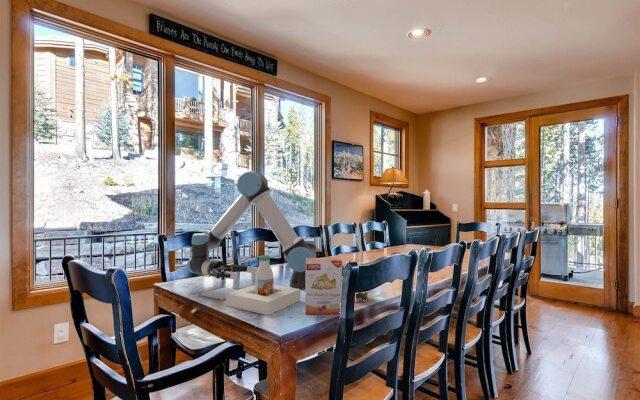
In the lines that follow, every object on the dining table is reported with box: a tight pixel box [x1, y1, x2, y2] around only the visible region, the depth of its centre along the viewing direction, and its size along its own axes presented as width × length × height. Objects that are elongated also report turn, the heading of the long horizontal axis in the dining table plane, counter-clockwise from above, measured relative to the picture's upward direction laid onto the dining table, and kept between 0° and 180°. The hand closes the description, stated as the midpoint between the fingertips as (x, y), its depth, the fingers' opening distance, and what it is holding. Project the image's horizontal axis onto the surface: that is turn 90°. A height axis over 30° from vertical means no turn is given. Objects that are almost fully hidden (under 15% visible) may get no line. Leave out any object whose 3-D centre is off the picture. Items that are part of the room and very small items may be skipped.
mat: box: [200, 287, 237, 301], centre depth 159 cm, size 14×14×1 cm
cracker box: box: [304, 257, 343, 315], centre depth 134 cm, size 14×6×21 cm, turn 95°
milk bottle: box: [254, 254, 274, 296], centre depth 145 cm, size 8×8×20 cm
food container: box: [356, 291, 369, 301], centre depth 152 cm, size 12×6×10 cm, turn 168°
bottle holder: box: [225, 284, 301, 316], centre depth 145 cm, size 22×22×5 cm
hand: (247, 273), depth 150 cm, fingers open, 13 cm apart
